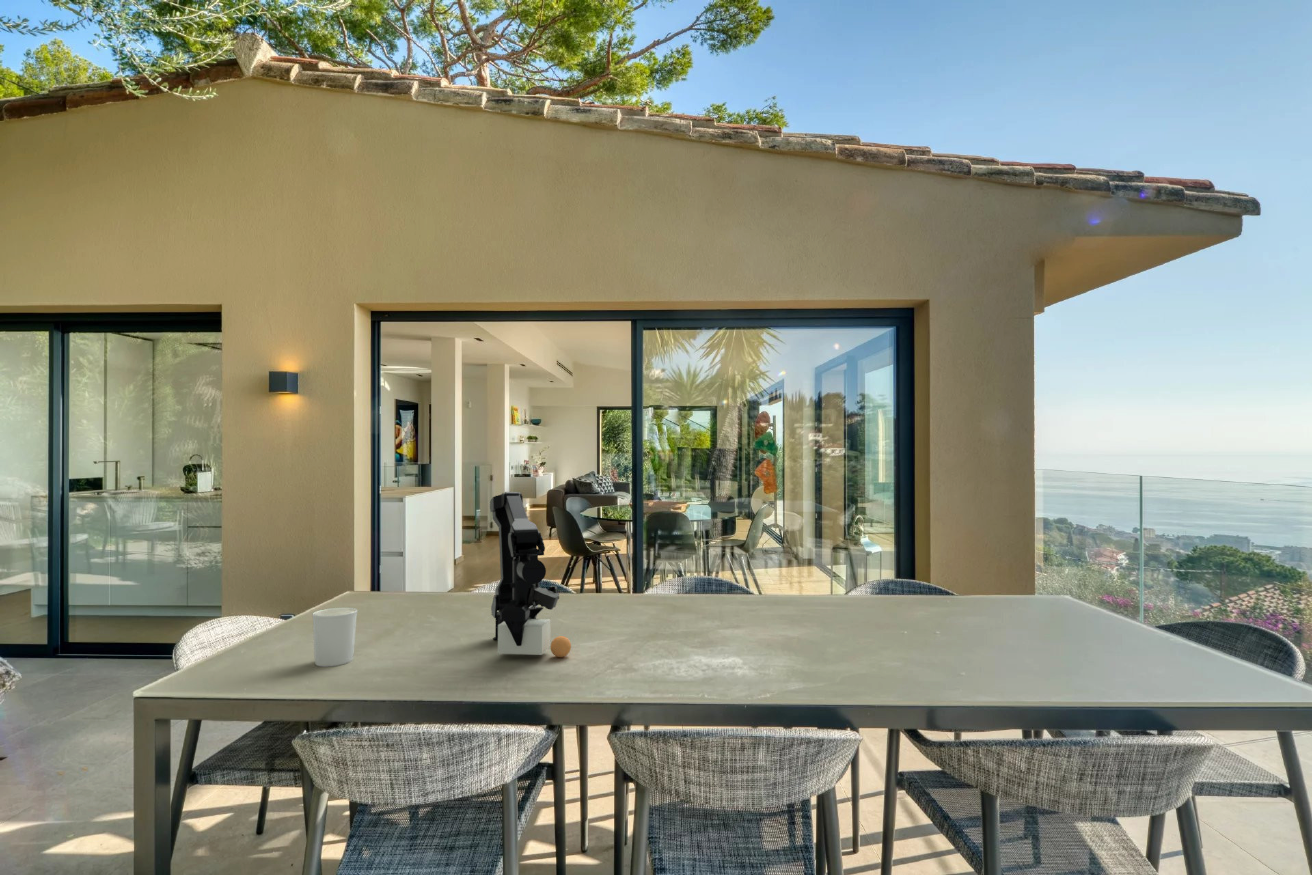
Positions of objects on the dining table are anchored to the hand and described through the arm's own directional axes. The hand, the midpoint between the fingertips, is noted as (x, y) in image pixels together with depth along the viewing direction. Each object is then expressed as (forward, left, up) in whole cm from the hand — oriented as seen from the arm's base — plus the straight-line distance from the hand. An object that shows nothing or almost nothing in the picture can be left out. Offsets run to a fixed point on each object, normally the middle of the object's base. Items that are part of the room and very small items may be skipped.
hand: (524, 641), depth 160 cm
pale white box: (0, 0, -2) cm, 2 cm away
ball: (+9, 0, -1) cm, 9 cm away
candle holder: (-45, -8, -4) cm, 46 cm away
